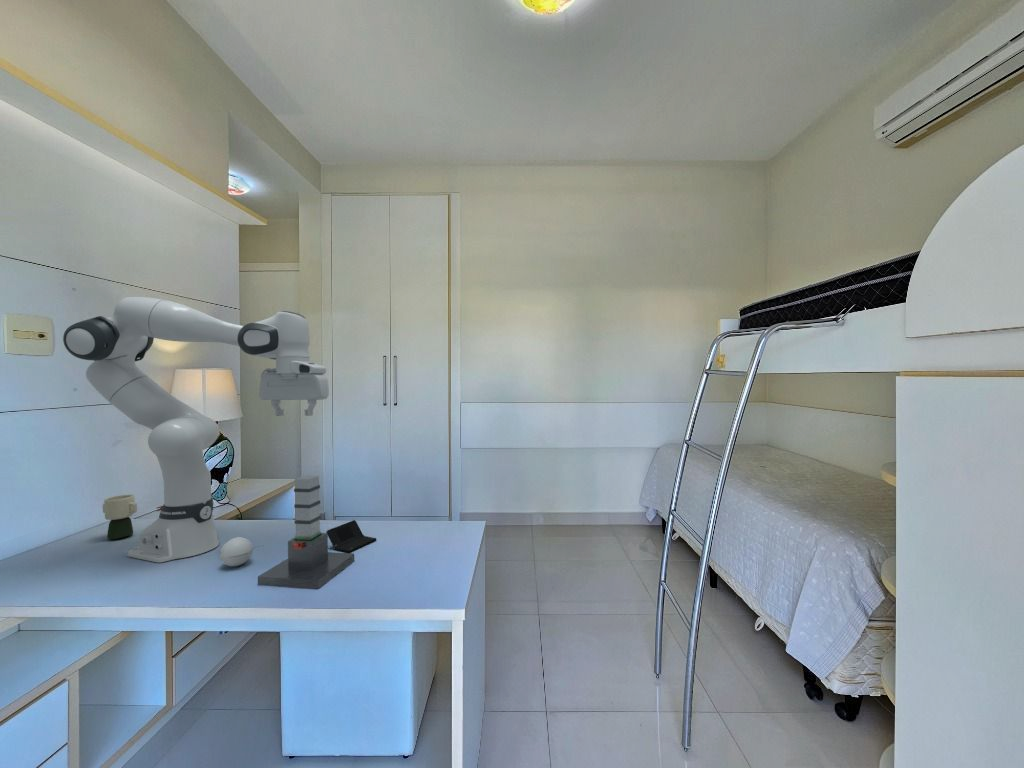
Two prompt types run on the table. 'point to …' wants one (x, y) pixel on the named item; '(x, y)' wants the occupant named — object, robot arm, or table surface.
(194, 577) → the table surface
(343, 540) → the handheld gaming console
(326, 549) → the stand base
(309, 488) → the column
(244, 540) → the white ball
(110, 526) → the character mug
